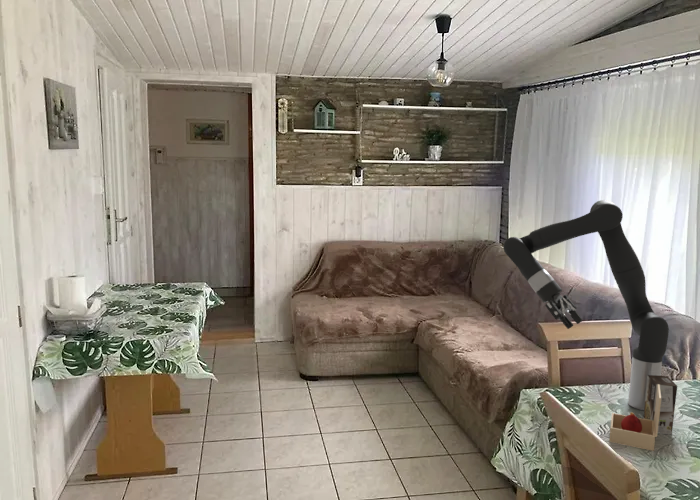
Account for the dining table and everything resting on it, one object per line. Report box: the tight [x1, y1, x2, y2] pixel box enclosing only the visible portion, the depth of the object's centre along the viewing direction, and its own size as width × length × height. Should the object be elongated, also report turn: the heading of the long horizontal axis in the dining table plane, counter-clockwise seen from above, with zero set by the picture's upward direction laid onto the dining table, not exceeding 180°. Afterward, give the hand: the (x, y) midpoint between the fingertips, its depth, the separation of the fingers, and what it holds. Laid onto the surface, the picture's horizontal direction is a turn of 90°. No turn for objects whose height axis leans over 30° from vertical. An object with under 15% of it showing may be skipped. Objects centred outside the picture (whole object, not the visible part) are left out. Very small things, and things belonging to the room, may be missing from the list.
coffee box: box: [642, 375, 678, 436], centre depth 185 cm, size 9×6×16 cm
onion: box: [621, 411, 642, 433], centre depth 178 cm, size 6×6×8 cm
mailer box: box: [609, 384, 661, 452], centre depth 177 cm, size 12×12×16 cm
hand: (575, 324), depth 192 cm, fingers open, 8 cm apart
